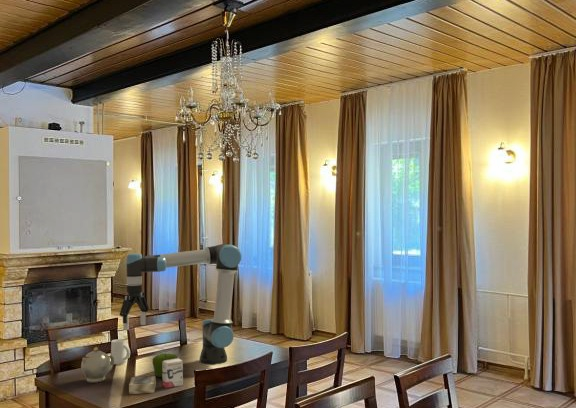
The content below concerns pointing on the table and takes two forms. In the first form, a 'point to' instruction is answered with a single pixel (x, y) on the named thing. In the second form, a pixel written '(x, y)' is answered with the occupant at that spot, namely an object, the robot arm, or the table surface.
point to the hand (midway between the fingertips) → (134, 327)
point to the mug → (119, 351)
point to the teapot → (96, 365)
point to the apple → (158, 362)
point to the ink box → (172, 373)
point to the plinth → (142, 385)
